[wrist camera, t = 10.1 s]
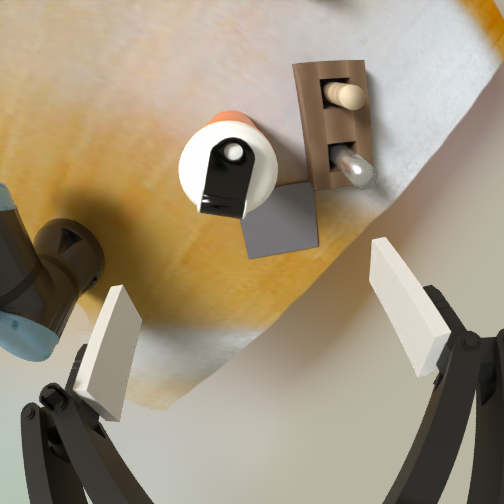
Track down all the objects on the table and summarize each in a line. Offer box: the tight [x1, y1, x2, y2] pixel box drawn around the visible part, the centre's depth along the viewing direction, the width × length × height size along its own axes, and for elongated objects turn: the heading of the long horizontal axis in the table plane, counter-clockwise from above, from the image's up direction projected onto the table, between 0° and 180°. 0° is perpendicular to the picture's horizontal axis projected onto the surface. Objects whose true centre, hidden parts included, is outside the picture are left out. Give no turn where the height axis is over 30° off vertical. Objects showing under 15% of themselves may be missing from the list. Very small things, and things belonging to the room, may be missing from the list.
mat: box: [240, 181, 318, 259], centre depth 48 cm, size 12×12×1 cm
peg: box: [327, 142, 377, 189], centre depth 37 cm, size 3×3×12 cm
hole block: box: [292, 60, 373, 191], centre depth 38 cm, size 9×18×4 cm, turn 10°
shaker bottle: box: [179, 111, 278, 219], centre depth 32 cm, size 9×9×20 cm
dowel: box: [320, 81, 365, 110], centre depth 33 cm, size 3×3×10 cm
